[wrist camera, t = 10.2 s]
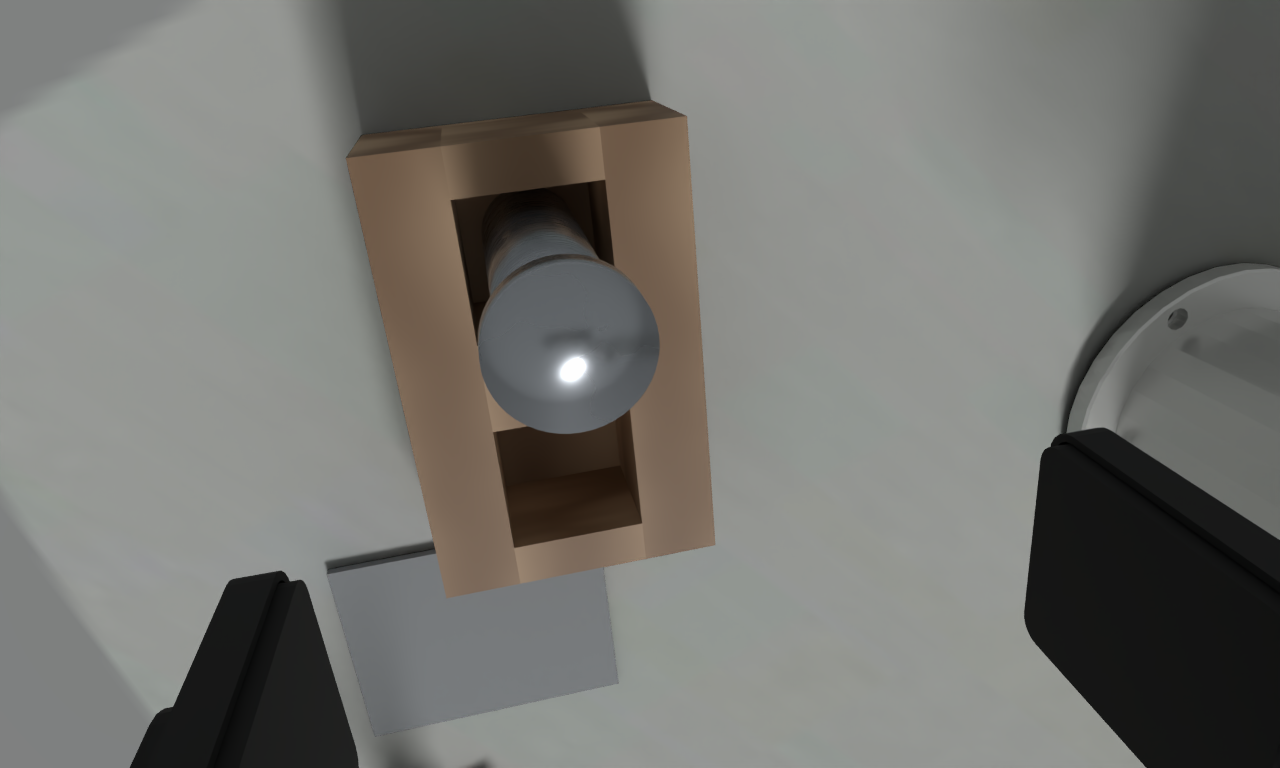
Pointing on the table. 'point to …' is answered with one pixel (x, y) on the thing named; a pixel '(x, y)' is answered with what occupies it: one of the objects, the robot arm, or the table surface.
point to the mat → (468, 640)
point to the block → (448, 341)
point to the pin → (559, 320)
